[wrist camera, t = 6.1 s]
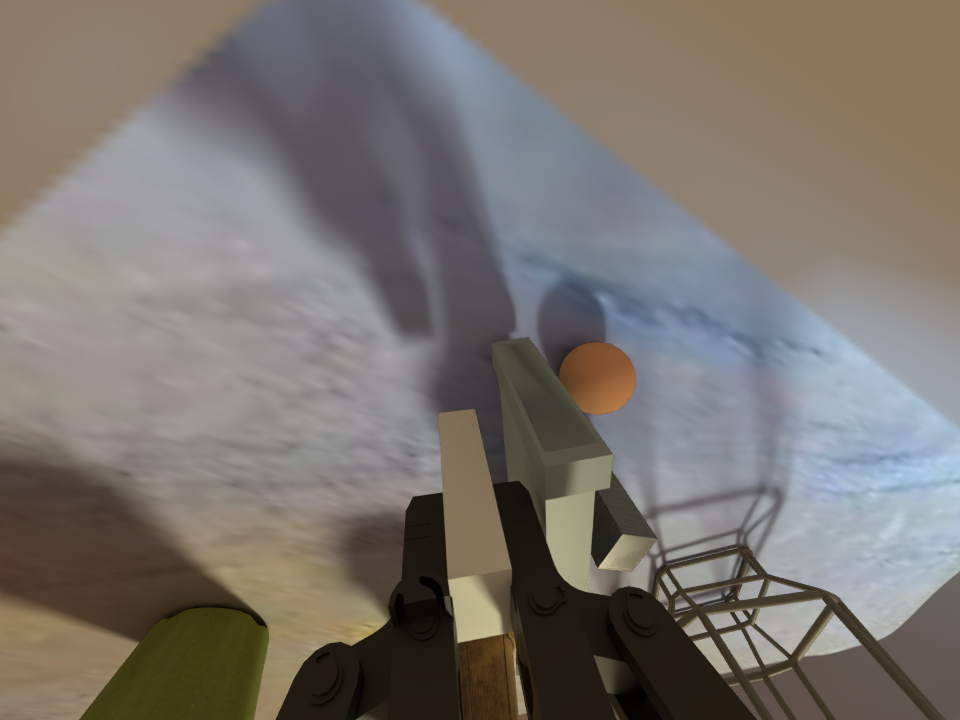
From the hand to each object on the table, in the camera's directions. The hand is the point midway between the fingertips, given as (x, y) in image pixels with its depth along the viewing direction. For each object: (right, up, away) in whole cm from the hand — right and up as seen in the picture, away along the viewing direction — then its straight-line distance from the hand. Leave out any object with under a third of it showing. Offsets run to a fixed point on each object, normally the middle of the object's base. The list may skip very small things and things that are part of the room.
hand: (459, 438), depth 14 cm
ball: (+7, +2, +1) cm, 7 cm away
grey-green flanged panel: (+3, -1, +4) cm, 5 cm away
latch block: (+7, -3, +7) cm, 11 cm away
